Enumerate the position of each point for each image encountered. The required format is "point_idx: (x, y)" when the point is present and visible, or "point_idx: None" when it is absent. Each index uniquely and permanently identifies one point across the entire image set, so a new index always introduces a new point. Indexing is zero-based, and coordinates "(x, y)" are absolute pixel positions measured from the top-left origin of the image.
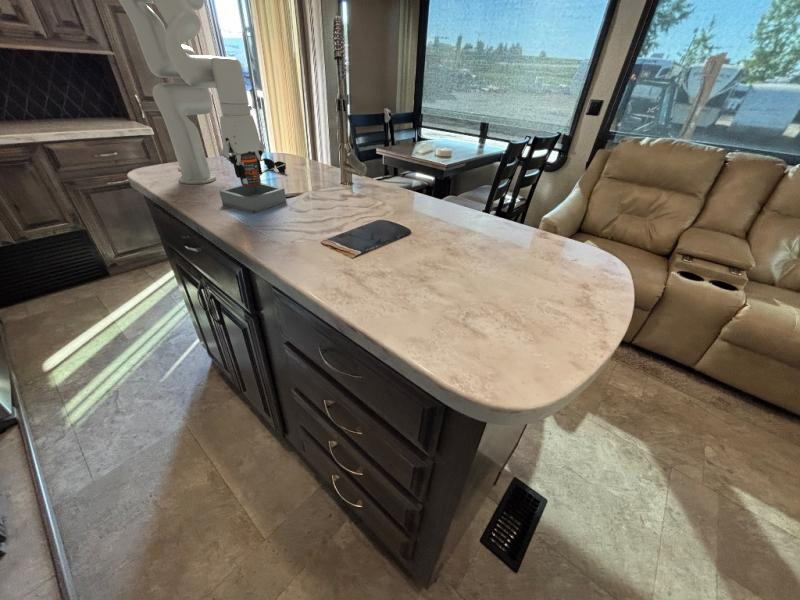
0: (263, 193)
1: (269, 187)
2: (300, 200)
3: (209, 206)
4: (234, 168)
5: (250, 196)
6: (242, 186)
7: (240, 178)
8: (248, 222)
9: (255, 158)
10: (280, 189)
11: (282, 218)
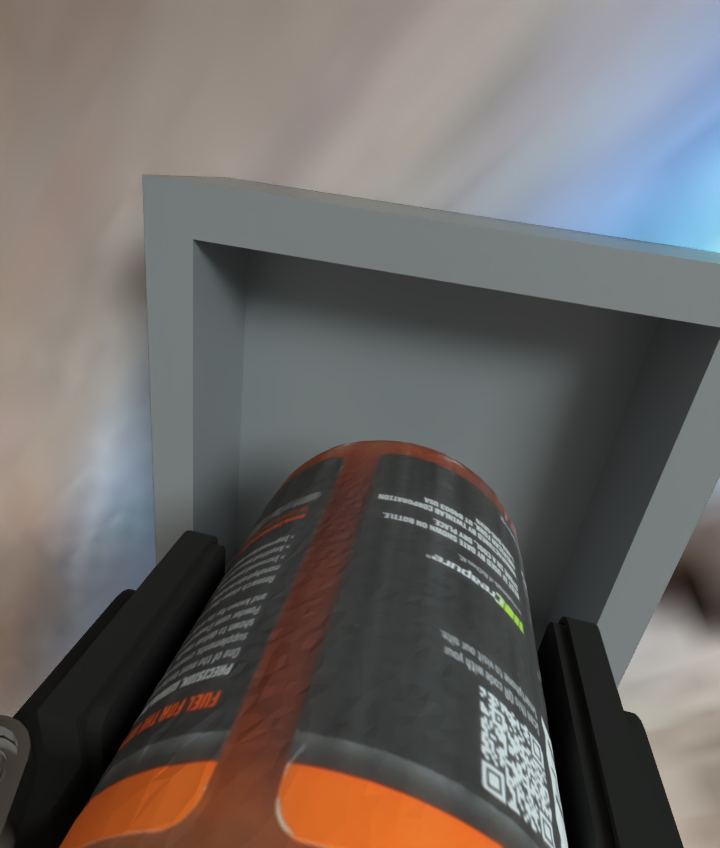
0: None
1: (607, 584)
2: (648, 707)
3: (116, 87)
4: (57, 669)
5: (503, 331)
6: (485, 287)
7: (251, 534)
8: (96, 600)
9: None
10: None
11: None
